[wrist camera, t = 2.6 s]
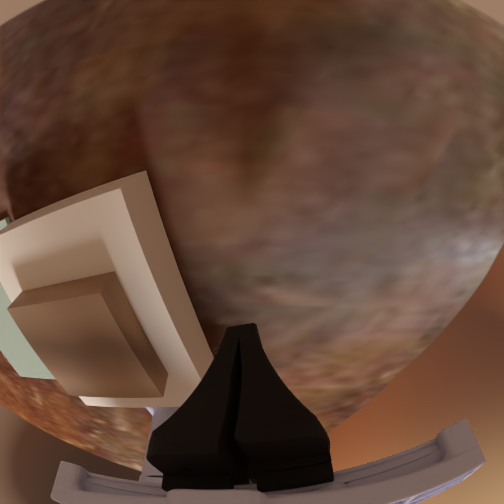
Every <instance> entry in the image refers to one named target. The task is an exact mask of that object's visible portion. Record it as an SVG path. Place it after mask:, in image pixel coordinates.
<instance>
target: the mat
mask: <svg viewBox="0 0 504 504" xmlns="http://www.w3.org/2000/svg"><path fill="white" fill-rule="evenodd" d="M10 223H11V221H10V218H9V217H7V218H5V219H3V220H1V221H0V230H2V229H3V228H4V227H6V226H7V225H9V224H10ZM10 305H11V301H10V299H9V297H8V295H7V294H6V292H5V290H4V288H3V286H2V284H1V282H0V350H1V352H2V353H3V354H4V356H5V357H6V358H7V360H8V361H9V362H10V364H11V365H12V366H13V368H14V369H15V370H16V371H17V373H18V374H19V375H20V376H22V377H32V378H45V379H55V377H54V376H53V375H52V374H51V372H50V371H49V370H48V369H47V367H46V366H45V365H44V363H43V362H42V361H41V359H40V358H39V357H38V355H37V354H36V353H35V351H34V350H33V348H32V347H31V346H30V344H29V343H28V341H27V340H26V338H25V337H24V335H23V334H22V332H21V331H20V329H19V328H18V326H17V325H16V323H15V321H14V320H13V318H12V317H11V315H10V313H9V312H8V310H7V308H8V307H9V306H10Z"/></svg>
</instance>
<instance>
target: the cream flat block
mask: <svg viewBox="0 0 504 504" xmlns="http://www.w3.org/2000/svg"><path fill="white" fill-rule="evenodd" d="M113 271H115V273H116V275H117V278H118V280H119V282H120V284H121V286H122V288H123V290H124V293H125V295H126V297H127V299H128V301H129V303H130V305H131V307H132V309H133V311H134V313H135V315H136V317H137V319H138V321H139V323H140V324H141V326H142V328H143V330H144V332H145V334H146V336H147V337H148V339H149V341H150V343H151V345H152V347H153V348H154V350H155V352H156V354H157V355H158V357H159V359H160V360H161V362H162V364H163V366H164V367H165V369H166V371H167V372H168V378H167V382H166V387H165V392H164V396H163V397H156V398H107V397H85V396H79V397H80V399H81V400H82V401H83V402H84V403H85V404H86V405H90V406H106V407H180V406H181V405H182V404H183V403H184V402H185V401H186V400H187V399H188V397H189V396H190V395H191V394H192V392H193V391H194V390H195V388H196V387H197V386H198V384H199V383H200V381H201V380H202V378H203V377H204V375H205V373H206V372H207V370H208V368H209V366H210V365H211V363H212V361H213V359H214V357H213V354H212V352H211V350H210V347H209V345H208V343H207V340H206V338H205V336H204V333H203V331H202V328H201V326H200V323H199V321H198V318H197V316H196V313H195V311H194V308H193V306H192V303H191V301H190V298H189V296H188V293H187V290H186V288H185V285H184V282H183V280H182V277H181V274H180V272H179V269H178V266H177V263H176V261H175V258H174V255H173V252H172V249H171V246H170V244H169V241H168V238H167V235H166V232H165V229H164V226H163V223H162V220H161V217H160V214H159V211H158V207H157V204H156V201H155V198H154V195H153V191H152V188H151V185H150V181H149V178H148V175H147V171H142V172H139V173H136V174H133V175H130V176H127V177H123V178H120V179H117V180H114V181H112V182H109V183H106V184H103V185H100V186H97V187H94V188H92V189H89V190H86V191H84V192H81V193H78V194H76V195H73V196H71V197H68V198H65V199H63V200H60V201H58V202H56V203H53V204H51V205H48V206H46V207H44V208H41V209H39V210H37V211H34V212H32V213H30V214H28V215H25V216H23V217H21V218H19V219H17V220H15V221H13V222H12V223H10V224H9V225H7V226H6V227H4V228H3V229H2V230H0V282H1V284H2V286H3V288H4V290H5V292H6V294H7V295H8V297H9V299H10V301H11V303H12V302H13V301H14V300H15V299H16V298H17V297H18V295H19V294H20V293H21V292H22V291H25V290H30V289H34V288H39V287H44V286H48V285H53V284H57V283H62V282H67V281H71V280H76V279H81V278H85V277H90V276H95V275H99V274H104V273H109V272H113Z"/></svg>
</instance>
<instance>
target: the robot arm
mask: <svg viewBox="0 0 504 504" xmlns="http://www.w3.org/2000/svg"><path fill="white" fill-rule="evenodd" d="M146 408H147V410H148V411H149V412H150V413H151V414H152V416H153V418H152V423H151V428H150V432H149V437H148V443H147V448H146V453H145V458H144V464H143V469H142V475H140V479H139V481H133V480H125V479H120V478H114V477H108V476H103V475H98V474H94V473H89V472H87V471H86V470H85V469H84V468H82V467H80V466H78V465H75V464H72V463H68V462H64V461H61V463H60V466H59V469H58V472H57V476H56V479H55V483H54V486H53V490H52V493H51V499H53V500H55V501H57V502H59V503H60V504H416V503H419V502H421V501H423V500H425V499H428V498H430V497H432V496H434V495H436V494H438V493H440V492H442V491H444V490H446V489H448V488H450V487H452V486H454V485H456V484H458V483H460V482H461V481H463V480H465V479H466V478H467V477H468V476H470V475H471V474H472V473H473V472H475V471H476V470H477V469H478V468H479V467H480V466H482V465H483V464H484V463H485V461H486V459H485V457H484V455H483V453H482V450H481V448H480V446H479V444H478V442H477V439H476V437H475V435H474V434H473V431H472V429H471V427H470V425H469V423H468V421H467V419H463V420H461V421H459V422H457V423H455V424H453V425H451V426H448V427H447V428H445V429H443V430H442V431H440V432H439V433H438V435H437V437H436V439H433V440H431V441H429V442H426V443H424V444H422V445H419V446H416V447H414V448H412V449H409V450H406V451H403V452H401V453H398V454H395V455H392V456H389V457H387V458H383V459H380V460H377V461H374V462H370V463H367V464H363V465H360V466H357V467H352V468H348V469H344V470H340V471H336V472H333V468H332V463H331V456H330V441H329V437H328V435H327V433H326V431H325V430H324V428H323V426H322V425H321V423H320V422H319V421H318V419H317V418H316V416H315V415H314V414H313V413H311V412H310V411H309V410H308V409H307V408H306V407H305V406H304V405H303V404H302V403H301V402H300V401H299V400H298V399H297V398H296V397H295V396H294V395H293V394H292V392H291V391H290V390H289V389H288V388H287V387H286V385H285V384H284V383H283V381H282V380H281V379H280V377H279V376H278V374H277V373H276V371H275V370H274V368H273V367H272V365H271V363H270V362H269V360H268V358H267V356H266V354H265V352H264V350H263V348H262V344H261V340H260V337H259V333H258V329H257V325H256V324H254V323H251V324H245V325H239V326H233V327H228V328H227V329H226V332H225V334H224V337H223V339H222V342H221V344H220V346H219V349H218V351H217V353H216V355H215V357H214V359H213V361H212V363H211V365H210V366H209V368H208V370H207V372H206V373H205V375H204V377H203V378H202V380H201V381H200V383H199V384H198V386H197V387H196V388H195V390H194V391H193V392H192V394H191V395H190V396H189V397H188V399H187V400H186V401H185V402H184V403H183V404H182V405H181V406H180V407H146Z"/></svg>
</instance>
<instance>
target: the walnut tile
mask: <svg viewBox="0 0 504 504" xmlns="http://www.w3.org/2000/svg"><path fill="white" fill-rule="evenodd" d="M7 310H8V312H9V313H10V315H11V317H12V318H13V320H14V321H15V323H16V325H17V326H18V328H19V329H20V331H21V332H22V334H23V335H24V337H25V338H26V340H27V341H28V343H29V344H30V346H31V347H32V348H33V350H34V351H35V353H36V354H37V355H38V357H39V358H40V359H41V361H42V362H43V363H44V365H45V366H46V367H47V369H48V370H49V371H50V372H51V374H52V375H53V376H54V377H55V379H56V380H57V381H58V382H59V383H60V385H61V386H62V387H63V388H64V389H65V391H66V392H67V393H68V394H69V395H71V396H85V397H107V398H156V397H163V396H164V392H165V387H166V382H167V378H168V372H167V371H166V369H165V367H164V366H163V364H162V362H161V360H160V359H159V357H158V355H157V354H156V352H155V350H154V348H153V347H152V345H151V343H150V341H149V339H148V337H147V336H146V334H145V332H144V330H143V328H142V326H141V324H140V323H139V321H138V319H137V317H136V315H135V313H134V311H133V309H132V307H131V305H130V303H129V301H128V299H127V297H126V295H125V293H124V290H123V288H122V286H121V284H120V282H119V280H118V278H117V275H116V273H115V271H113V272H109V273H104V274H99V275H95V276H90V277H85V278H81V279H76V280H71V281H67V282H62V283H57V284H53V285H48V286H44V287H39V288H34V289H30V290H25V291H22V292H21V293H20V294H19V295H18V297H17V298H16V299H15V300H14V301H13V302H12V303H11V305H10V306H9V307H8V308H7Z"/></svg>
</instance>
